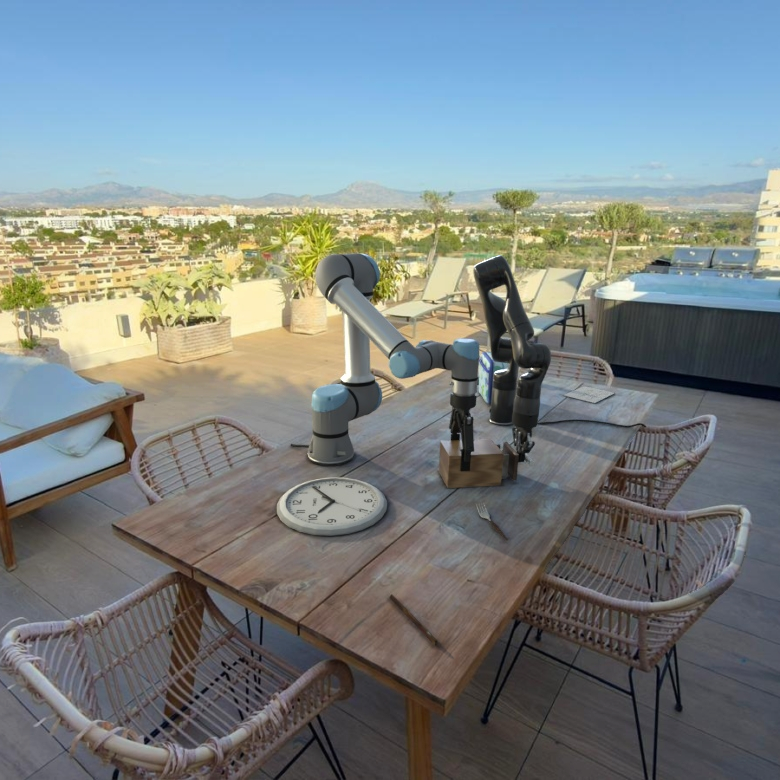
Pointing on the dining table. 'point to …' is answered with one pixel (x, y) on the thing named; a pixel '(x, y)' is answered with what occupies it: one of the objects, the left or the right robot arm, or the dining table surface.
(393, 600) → the dark brown rod
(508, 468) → the drawer
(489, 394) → the lunch box
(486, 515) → the fork
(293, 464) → the dining table surface
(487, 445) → the cabinet
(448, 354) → the left robot arm
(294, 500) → the wall clock
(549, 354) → the right robot arm
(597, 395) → the invitation card
